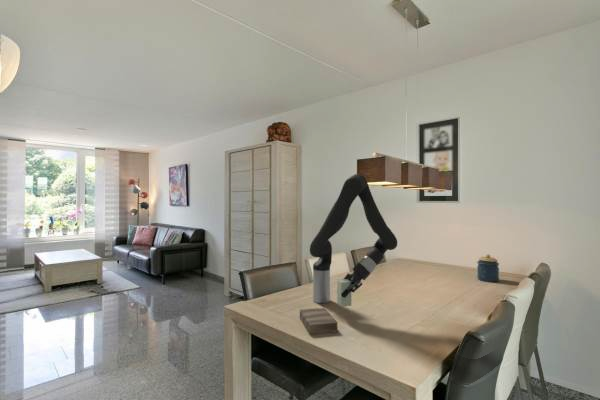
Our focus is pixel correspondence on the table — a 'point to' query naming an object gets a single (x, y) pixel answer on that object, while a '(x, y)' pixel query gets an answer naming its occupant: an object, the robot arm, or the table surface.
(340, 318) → the table surface
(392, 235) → the robot arm
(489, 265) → the canister
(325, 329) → the walnut base
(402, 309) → the table surface
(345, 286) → the sage block
